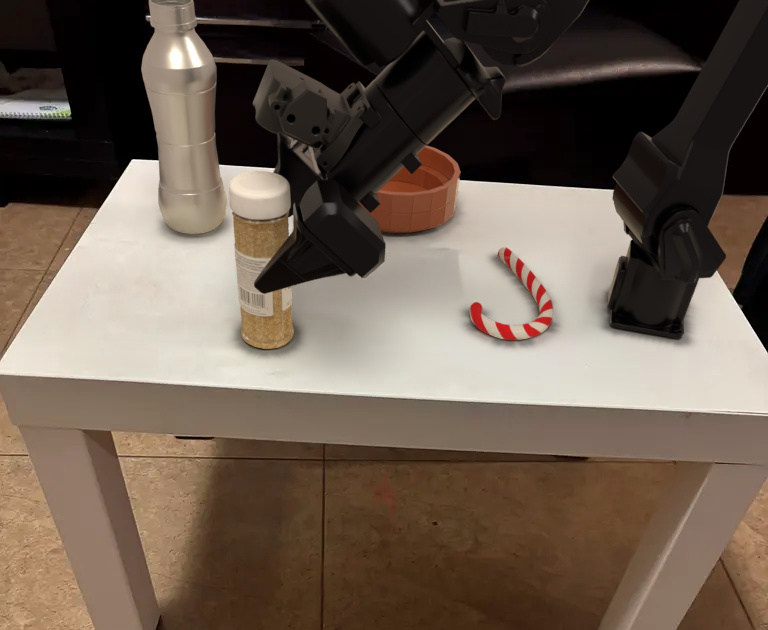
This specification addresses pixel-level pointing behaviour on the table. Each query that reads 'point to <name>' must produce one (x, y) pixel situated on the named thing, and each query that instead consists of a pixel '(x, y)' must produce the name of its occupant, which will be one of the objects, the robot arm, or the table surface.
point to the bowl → (419, 195)
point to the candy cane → (537, 292)
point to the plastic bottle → (183, 119)
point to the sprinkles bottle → (261, 254)
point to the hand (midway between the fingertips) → (253, 258)
